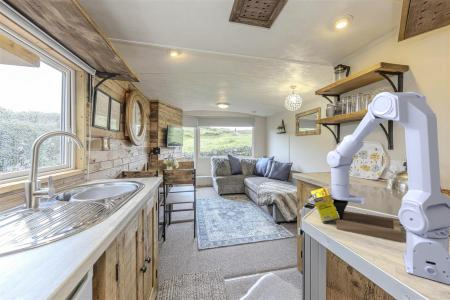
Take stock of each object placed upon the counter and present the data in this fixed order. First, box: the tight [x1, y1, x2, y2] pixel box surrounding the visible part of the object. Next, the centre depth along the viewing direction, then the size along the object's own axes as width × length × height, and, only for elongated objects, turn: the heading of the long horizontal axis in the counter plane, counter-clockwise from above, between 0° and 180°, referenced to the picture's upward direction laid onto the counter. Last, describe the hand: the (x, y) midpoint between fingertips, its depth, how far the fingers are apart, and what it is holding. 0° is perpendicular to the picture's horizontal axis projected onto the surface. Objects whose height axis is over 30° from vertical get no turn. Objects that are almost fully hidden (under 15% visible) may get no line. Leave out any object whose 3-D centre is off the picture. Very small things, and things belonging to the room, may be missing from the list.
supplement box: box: [310, 186, 339, 224], centre depth 75 cm, size 6×6×11 cm
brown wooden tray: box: [335, 210, 402, 243], centre depth 69 cm, size 11×17×3 cm, turn 52°
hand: (341, 219), depth 74 cm, fingers closed, pressing on supplement box
